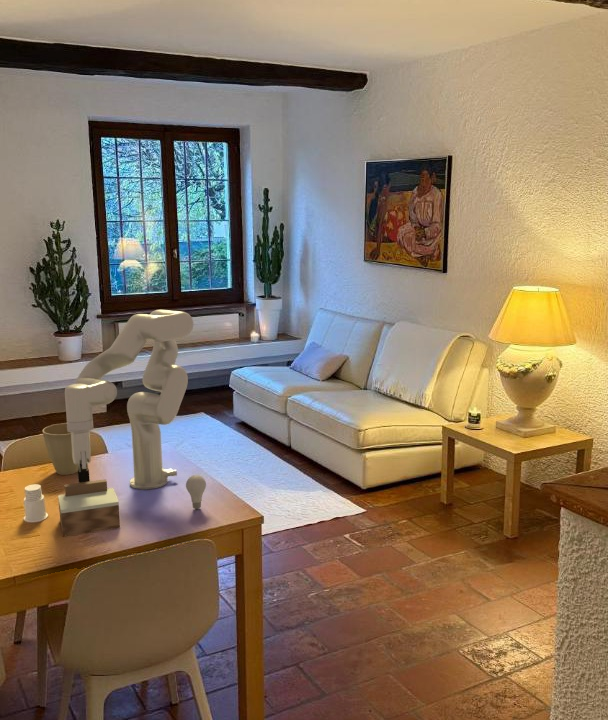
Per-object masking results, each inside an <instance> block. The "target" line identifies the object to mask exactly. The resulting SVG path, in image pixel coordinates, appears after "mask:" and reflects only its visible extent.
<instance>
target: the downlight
mask: <svg viewBox="0 0 608 720" xmlns="http://www.w3.org/2000/svg"><path fill="white" fill-rule="evenodd" d="M24 494H25V495H24V498H23V507H24V515H25V516H23V521H25V522H26V523H39V522H43V521H44V520H46V519H48V517H49V514H48V512H46V503H45V495H44V494H42V485H41V484H35V483H33V484H29V485H27V486H25V487H24Z"/></svg>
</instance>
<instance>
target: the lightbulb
mask: <svg viewBox="0 0 608 720" xmlns="http://www.w3.org/2000/svg"><path fill="white" fill-rule="evenodd" d="M185 482H186V483H185V488H186V490H187V492H188V493H189V496H190V499H191V502H192V508H193V509H194V510H199V509H200V508H201V506H202V501H203V495H204V493H205V489H206V487H207V483H206V480H205V478H204V477H203V476H201V475H199V474H193V475H191V476H189V477H188V479H187V480H186V481H185Z"/></svg>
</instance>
